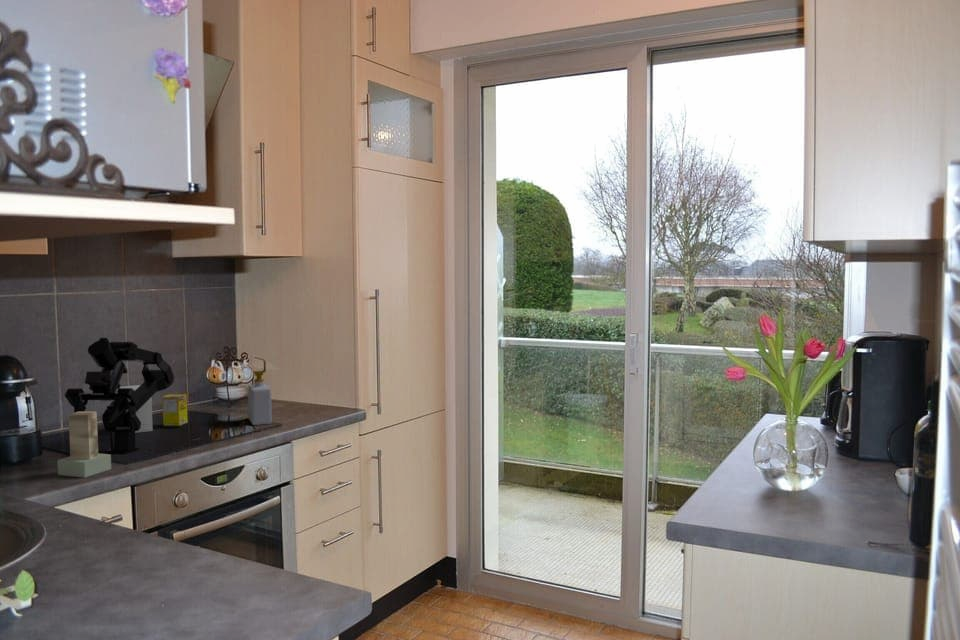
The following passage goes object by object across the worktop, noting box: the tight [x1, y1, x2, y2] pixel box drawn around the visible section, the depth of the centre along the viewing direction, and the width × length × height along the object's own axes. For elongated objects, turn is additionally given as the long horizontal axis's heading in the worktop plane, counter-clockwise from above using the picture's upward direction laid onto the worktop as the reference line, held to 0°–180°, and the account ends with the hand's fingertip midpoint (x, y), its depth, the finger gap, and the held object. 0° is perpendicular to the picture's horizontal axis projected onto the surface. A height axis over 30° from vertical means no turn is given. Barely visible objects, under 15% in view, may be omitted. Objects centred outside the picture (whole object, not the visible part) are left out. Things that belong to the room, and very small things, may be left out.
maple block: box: [68, 410, 99, 460], centre depth 203 cm, size 5×5×12 cm
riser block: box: [57, 452, 112, 478], centre depth 204 cm, size 9×9×4 cm
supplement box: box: [162, 393, 189, 429], centre depth 263 cm, size 6×6×11 cm
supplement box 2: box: [117, 384, 153, 434], centre depth 256 cm, size 9×9×15 cm
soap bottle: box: [247, 356, 273, 426], centre depth 270 cm, size 12×7×23 cm, turn 24°
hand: (92, 422), depth 210 cm, fingers open, 9 cm apart
